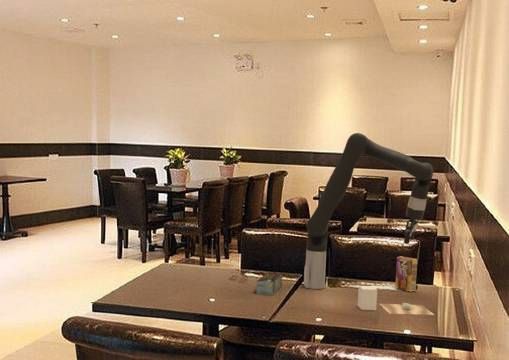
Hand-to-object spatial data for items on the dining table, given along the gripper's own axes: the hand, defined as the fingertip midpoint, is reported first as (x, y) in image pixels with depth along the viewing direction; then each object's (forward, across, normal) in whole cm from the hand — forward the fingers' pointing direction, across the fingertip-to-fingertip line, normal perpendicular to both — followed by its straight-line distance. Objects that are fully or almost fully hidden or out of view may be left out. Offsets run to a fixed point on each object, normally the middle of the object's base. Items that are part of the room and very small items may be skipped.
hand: (408, 241), depth 262 cm
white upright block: (+21, +39, -3) cm, 44 cm away
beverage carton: (+31, +32, -49) cm, 66 cm away
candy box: (+26, -8, +2) cm, 27 cm away
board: (+20, +31, +10) cm, 38 cm away
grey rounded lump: (+19, +31, +10) cm, 37 cm away
